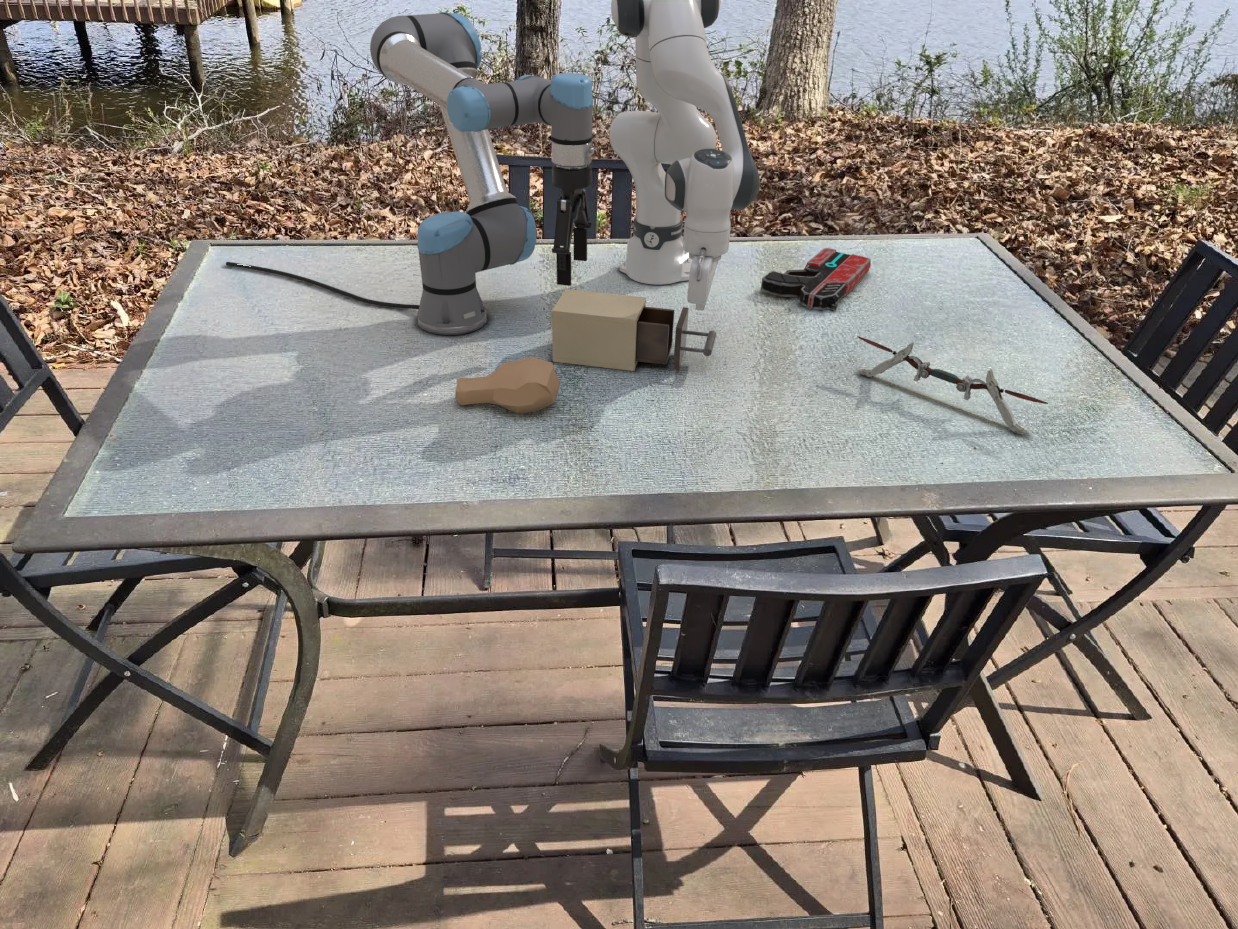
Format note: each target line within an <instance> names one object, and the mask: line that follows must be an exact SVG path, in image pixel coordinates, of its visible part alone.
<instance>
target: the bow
mask: <svg viewBox="0 0 1238 929" xmlns="http://www.w3.org/2000/svg"><path fill="white" fill-rule="evenodd" d="M856 337H857V338H858V339H859V340H861V341H863V342H865V343H866V344H868V345H871V346H872V347H875V348H877V349H880V350H882V351H885V352H889V353H891V354H892V355H893V357H892V358H888V359H886V360H884V361H882V362H880V363H878V364H877V365H876V366H875V367H873V368H872V369H865V368H864V369H863V368H862V369H861V370H859V374H860V375H862V376H864V377H867V378H873V379H876V380H879V381H881V382H883V383H887V384H890V385H892V386H894V387H897V388H900V389H903V390H905V391H908V392H911V393H913V394H915V395H919V396H921V397H923V398H926V399H928V400H932V401H935V402H937V403H940V404H942V405H946V406H948V407H950V408H953V409H955V410H959V411H962V412H964V413H966V414H969V415H972V416H974V417H977V418H980V419H982V420H984V421H988V422H990V423H993V424H996V425H999V426H1002V427H1004V428H1007V429H1009V430H1010V431H1012V432H1013V433H1015V434H1018V435H1025V434H1026V433H1027V431H1028V430H1027V429H1025V427H1023V426H1021V425H1019V424H1018V423H1017V422H1016V420H1015V416H1014V415H1013V412H1012V410H1011V408H1010V406H1009V405H1008V403H1007V401H1006V400H1005V399H1004V398H1003V396H1002V393H1005V394H1007V395H1010V396H1012V397H1016V398H1018V399H1021V400H1026V401H1029V402H1031V403H1037V404H1038V403H1039V404H1044V405H1048V404H1049V402H1047V401H1044V400H1041V399H1038V398H1036V397H1033V396H1030V395H1026V394H1024V393H1021V392H1016V391H1014V390H1010V389H1009V390H1008V389H1004V388H1000V386H999V382H998V381H997V380H996V378H995V375H994V371H993V369H992V368H989V370H987V373H986V376H985V381H984V380H982V379H981V378H971V377H970V376H969V375H966V376H965V377H964V378H962V379H961V378H959V377H958V375H956V374H954V373H952V372H949V371H945V370H943V369H940V368H931V367H930V366H931V363H930V361H928V362H927V361H925V362H923V360H921V359H920V358H919V357H917V356H915V355H910V354H911V353H912V351H913V349H914V345H915V343H914V342H913V341H912V342H910V343H908V345H907V346H906V347H905V348H902V349H900V350H899V351H898V352H897V351H896V350H892V349H891V348H889V347H887V346H886V345H882V344H880V343H878V342H876V341H873V340H870V339H868V338H865V337H862V336H859V335H857V336H856ZM904 362H907V363H908V364H909V365H910V366H912V367H913V368H914V369H915V370H916V374H915V375H914V378H913V381H914V382H916V383H918V381H921V378H922V379H925V380H926V379H928V378H929V376H931V377H933V378H936V379H940V380H942V381H944V382H948V383H950V384H953V385H956V386H955V389H956V390H957V391H958V392H959V393H963V400H966V401H969V400H970V399H971V395H972V392H971V390H986V391H987V392H988V394H989V395H990V397H991V399H992V400H993V402H994V403H995V406H996V409H997V410H998V412H999V414H1000V415H1001V418H1002V420H1003V422H1004V423H1005V425H1004V424H1001V423H999V422H996V421H993V420H991V419H988V418H986V417H983V416H980V415H977V414H975V413H971V412H969V411H966V410H965V409H961V408H958V407H956V406H953V405H950V404H948V403H945V402H943V401H939V400H937V399H934V398H932V397H929V396H926V395H923V394H921V393H918V392H916V391H913V390H910V389H908V388H905V387H902V386H899V385H897V384H895V383H892V382H889V381H886V380H885V379H884V380H883V379H881V378H879V377H876V376H877V375H881V374H883V373H884V372H886V371H887V370H889V369H891V368H893V367H894V366H897V365H899V364H901V363H904Z"/></svg>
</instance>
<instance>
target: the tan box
mask: <svg viewBox="0 0 1238 929" xmlns="http://www.w3.org/2000/svg"><path fill="white" fill-rule="evenodd" d="M646 305H647V297H646V296H638V295H637V296H636V295H627V294H616V293H609V292H608V293H607V292H599V291H598V292H597V291H588V290H580V289H579V290H578V289H569V288H566V289H565V290H564V291H563V292H562V294H561V296H560V297H559V299H558V300H557V302H556V303H555V305H554V306H553V308H552V309H551V344H552V346H551V347H552V352H551V353H552V363H562V364H568V365H569V364H571V365H577V366H578V365H579V366H587V367H595V368H605V369H611V370H612V369H613V370H620V371H629V372H630V371H631V372H635V370H636V367H637V365H638V363H639V361H635V359H636V334H637V321H638V319H639V317H640V314H641V312H642V310H643V307H647V306H646Z"/></svg>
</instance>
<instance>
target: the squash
mask: <svg viewBox="0 0 1238 929" xmlns="http://www.w3.org/2000/svg"><path fill="white" fill-rule="evenodd" d="M558 376H559V375H558V374H557V372H556V370H555V367H554V362H551V361H548V360H545V359H541V358H538V357H533V356H527V357H524V358H521V359H516V360H510V361H506V362H503V363H502V364H501V365H499V366H498V367H497V368H496V369H495V370H494V371H493V372H491V373H490V374H488V375H485V376H477V377H459V378H457V379H456V387H455V393H454V399H455V400H456V401H457V402H458V404H460V406H465V405H474V404H492V405H498V406H501V407H502V408H504V409H507V410H509V411H511V412H513V413H516V414H530V413H532V414H533V413H537V412H539V411H540V410H543V409H545V408H547V407H549V406H551V405H553V404H555V402H556V400H557V398H558V395H559V391H560V386H561V380H560V379H559V378H560V377H558Z"/></svg>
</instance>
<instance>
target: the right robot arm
mask: <svg viewBox="0 0 1238 929" xmlns="http://www.w3.org/2000/svg"><path fill="white" fill-rule="evenodd" d="M721 2H722V0H611V1H610V12H611V13H610V14H611V16H612V20H613V23H614V25H615V26H616V30H617V32H619V33H620V34H621V35H622V36H625V37H630V38H635V44H634V46H635V47H634V49H635V54H634V55H635V75H636V76H635V77H636V78H635V79H636V80H635V81H636V88H637V90H638V93H639V95H640V96H641V97H642V98H643V99H644V100H645V101H646V102H648V103H649V104H650V105H652V106H653V107H654V108H655V109H656V110H657V112H654V111H646V110H632V111H631V110H630V111H629V110H628V111H623V112H619V113H618V114H617V115H616V116H615V117H614V118H613V120H612V122H611V124H610V126H609V132H608V138H609V139H608V140H609V144H610V147H611V148H612V151H613V152H614V153H615V154H616V155H617V156H618V157H619V158H620V159H621V161H622V162H623V164H625V165H626V167H627V170H628V171H629V173H630V175H631V178H632V180H633V184H634V188H635V189H634V190H635V218H634V219H633V224H632V229H633V235H632V236H631V237H630V238H629V239H628V240H627V243H626V244H627V245H626V256H625V262H624V263H623V264H621V265H620V266H619V271H620V272H622V273H624V274H626V275H627V277H628V278H629V279H631V280H633V281H635V282H638V283H641V284H645V285H646V284H647V285H657V286H659V285H661V286H662V285H671V284H675V283H678V282H687V281H688V283H687V284H688V286H687V296H686V297H687V302H688V303H689V304H694V305H695V307H694V308H695V310H696V311H705V309H706V305H707V301H708V299H709V294H710V291H711V288H712V284H713V281H714V277H715V274H716V271H717V268H718V265H719V261H720V260H721V259H722V256H723V255H725V254H727V253H728V252H729V248H730V240H731V239H730V238H731V230H732V229H731V228H732V223H731V211H732V210H734V211H736V210H737V211H742V210H745V209H746V208H747V207H749V206H750V205H751V204H752V203H753V202H754V200H755V199H756V198H757V196H758V194H759V192H760V188H761V180H760V173H759V169H758V167H757V165H756V162H755V159H754V157H753V155H752V153H751V150H750V147H749V143H748V140H747V137H746V133H745V130H744V127H743V123H742V118H741V115H740V112H739V109H738V105H737V102H736V98H735V95H734V91H733V89H732V86H731V83H730V80H729V79H728V77H727V76H726V75H725V74H723V73H722V72H720V71H719V70H718V68H717V67H716V65H715V64H714V62H713V60H712V58H711V56H710V53H709V50H708V45H707V36H706V31H705V29H707V28H709V27H711V26H712V25H713V24H714V23H715V22H716V20H717V19H718V17H719V12H720V9H721ZM698 108H699V109H701V110H703V111H704V112H705V113H706V114H708V115H709V116H710V118H711V119H712V120H713V123H714V125H715V127H714V126H713V124H712V123H711V122H710V121H709V120H708V119H706V118H705V117H704V116H703V115H702V113H700V111H699V110H698ZM715 129H716V130H715ZM717 136H718V140H719V144H720V146H721V150H720V149H718V148H717V144H718V143H717V141H718V140H717ZM662 164H663V165H664V164H665V165H670V166H669V167H668V169H667V170H664V168H663V165H662ZM682 211H684V213H685V214H686V215H685V220H684V223H683V215H682Z"/></svg>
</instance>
